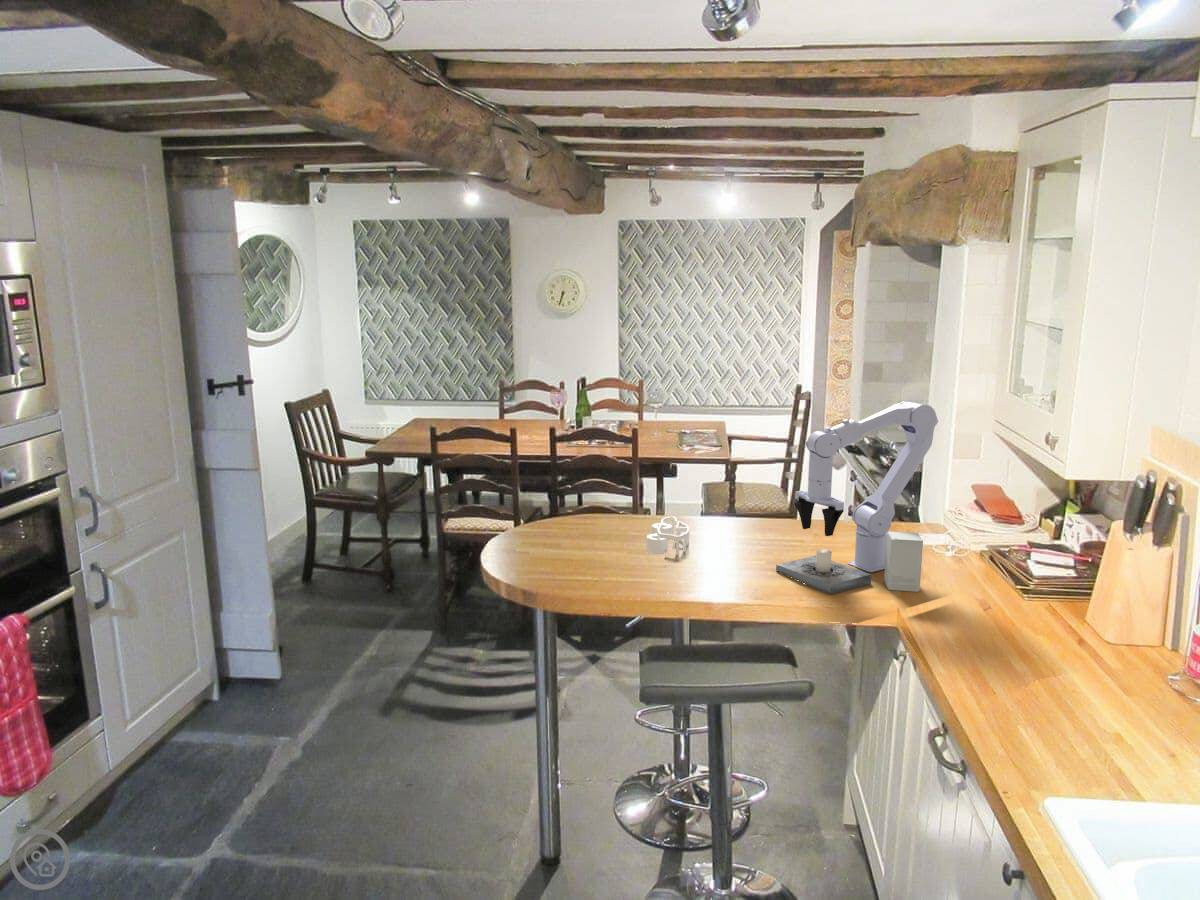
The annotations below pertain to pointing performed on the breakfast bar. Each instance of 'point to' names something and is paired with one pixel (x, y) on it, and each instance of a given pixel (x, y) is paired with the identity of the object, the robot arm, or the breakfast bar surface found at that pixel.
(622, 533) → the breakfast bar surface
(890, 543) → the supplement box
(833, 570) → the socket plate
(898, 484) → the robot arm
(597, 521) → the breakfast bar surface
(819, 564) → the peg
